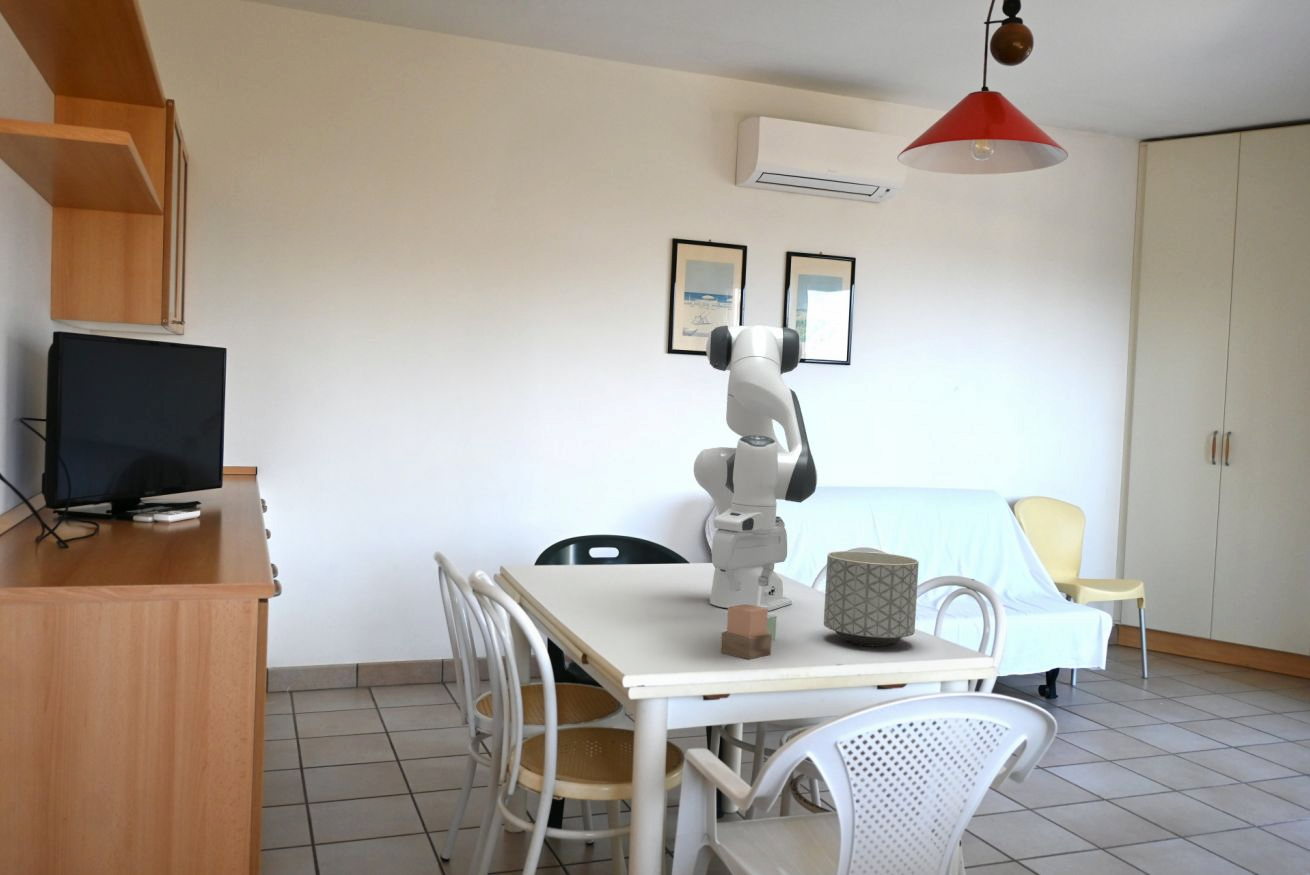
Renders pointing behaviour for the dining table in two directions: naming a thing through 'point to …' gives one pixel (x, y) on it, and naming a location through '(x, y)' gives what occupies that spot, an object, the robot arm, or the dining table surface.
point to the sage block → (771, 625)
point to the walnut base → (746, 645)
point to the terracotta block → (747, 620)
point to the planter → (870, 596)
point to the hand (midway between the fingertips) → (749, 588)
